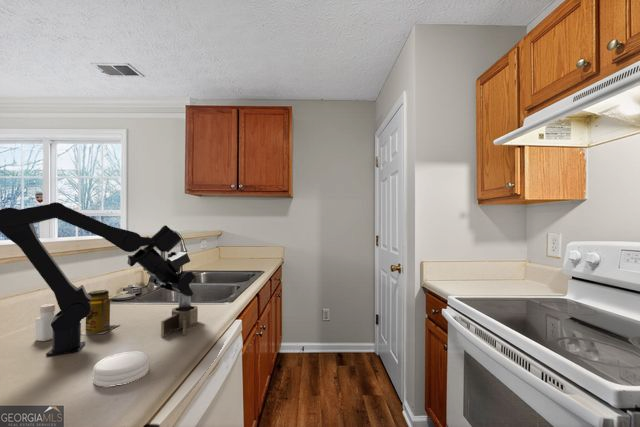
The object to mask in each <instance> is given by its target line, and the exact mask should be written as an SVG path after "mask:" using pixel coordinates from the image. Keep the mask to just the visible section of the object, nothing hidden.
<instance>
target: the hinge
mask: <svg viewBox="0 0 640 427" xmlns="http://www.w3.org/2000/svg"><path fill="white" fill-rule="evenodd" d="M198 310H199V308H198V305H191V310H188V311H179V306H177V307H174V308H172V309H171V316H169V317H167V318H165V319H163V320H161V322H160V324H161V325H160V330H161V331H160V332H161V333H160V337H161V338H165V337H166V336H168V335H170V334H172V333H173V332H175V331H177V330H178V329H182V336H183V337H184V336H185V337H186V336H187V328H192V327H194V326H197V325H198V323H199V322H198V317H199V316H198V312H199V311H198Z"/></svg>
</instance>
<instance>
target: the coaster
mask: <svg viewBox="0 0 640 427" xmlns="http://www.w3.org/2000/svg"><path fill="white" fill-rule="evenodd" d="M149 360H150V356H149V354H147V353H146V352H143V351H138V350H137V351H125V352H120V353H115V354H112V355H108V356H106V357H104V358H103V359H101V360H99V361H98V362H97V363H95V365H94V366H93V376H92V377H93V379H92V382H93V384H94V385H95V384H96V385H99V386H110V385H117V384H124V383H128V382H131V381H134V382H136V381H138V380H140V379H142V378H144V377H145V376H146V374H148V372H149V369H150V367H149V365H150V361H149ZM141 377H142V378H141ZM139 378H140V379H139ZM137 379H138V380H137ZM135 380H136V381H135ZM131 383H132V382H131ZM128 384H129V383H128ZM96 385H95V386H96ZM99 386H98V387H99Z"/></svg>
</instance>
